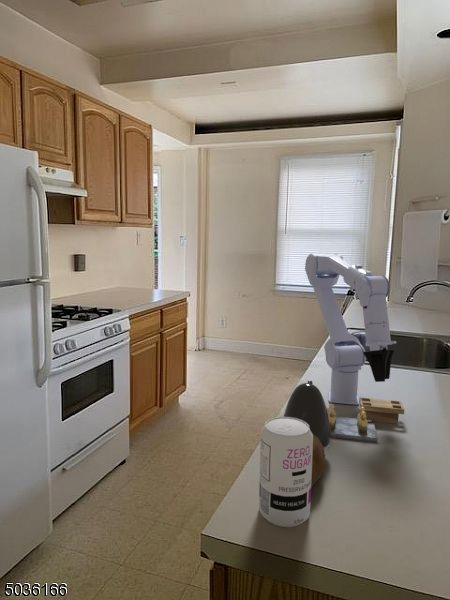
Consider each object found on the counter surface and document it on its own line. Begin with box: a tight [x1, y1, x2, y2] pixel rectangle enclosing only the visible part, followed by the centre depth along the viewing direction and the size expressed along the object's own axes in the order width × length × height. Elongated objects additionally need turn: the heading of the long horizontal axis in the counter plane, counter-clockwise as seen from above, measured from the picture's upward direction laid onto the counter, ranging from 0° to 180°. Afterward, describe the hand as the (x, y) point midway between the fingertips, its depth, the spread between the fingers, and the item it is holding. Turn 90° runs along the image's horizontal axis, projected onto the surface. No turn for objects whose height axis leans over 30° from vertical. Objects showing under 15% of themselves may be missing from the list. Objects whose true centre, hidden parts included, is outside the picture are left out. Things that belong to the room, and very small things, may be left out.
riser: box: [364, 411, 400, 424], centre depth 108 cm, size 3×8×3 cm, turn 77°
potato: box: [311, 433, 326, 488], centre depth 80 cm, size 8×12×9 cm
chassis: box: [327, 403, 379, 443], centre depth 102 cm, size 10×13×5 cm
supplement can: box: [258, 416, 313, 528], centre depth 70 cm, size 8×8×15 cm
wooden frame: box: [358, 397, 405, 415], centre depth 108 cm, size 6×10×1 cm, turn 77°
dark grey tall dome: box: [282, 379, 332, 453], centre depth 89 cm, size 10×10×15 cm
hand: (382, 380), depth 105 cm, fingers open, 7 cm apart
